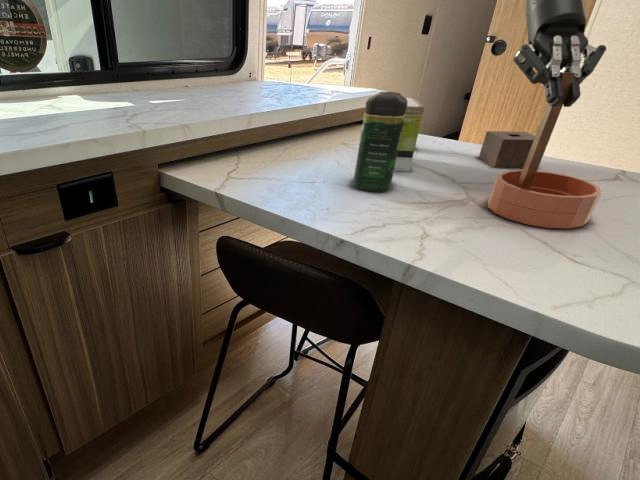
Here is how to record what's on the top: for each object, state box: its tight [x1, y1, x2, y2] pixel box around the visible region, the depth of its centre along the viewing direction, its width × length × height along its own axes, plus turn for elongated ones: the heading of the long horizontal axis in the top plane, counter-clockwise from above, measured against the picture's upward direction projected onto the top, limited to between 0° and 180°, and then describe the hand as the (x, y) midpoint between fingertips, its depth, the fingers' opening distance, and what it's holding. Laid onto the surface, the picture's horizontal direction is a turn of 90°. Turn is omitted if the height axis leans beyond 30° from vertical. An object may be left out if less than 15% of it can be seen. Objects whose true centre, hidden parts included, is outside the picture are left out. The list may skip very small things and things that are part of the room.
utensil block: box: [478, 130, 536, 169], centre depth 103 cm, size 10×10×7 cm
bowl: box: [487, 169, 603, 230], centre depth 75 cm, size 16×16×6 cm
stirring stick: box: [516, 72, 575, 190], centre depth 70 cm, size 2×2×20 cm
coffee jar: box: [352, 91, 407, 193], centre depth 85 cm, size 10×8×19 cm
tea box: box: [394, 97, 425, 172], centre depth 101 cm, size 15×10×15 cm
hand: (563, 103), depth 65 cm, fingers closed on stirring stick, 1 cm apart
